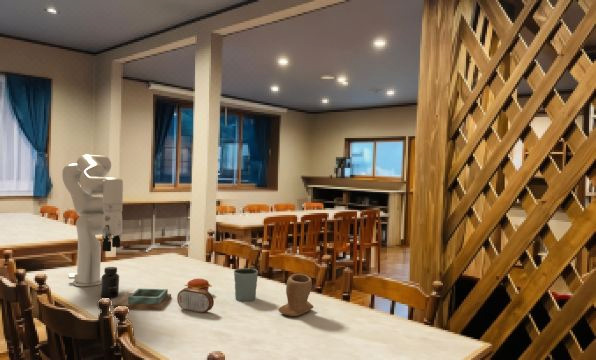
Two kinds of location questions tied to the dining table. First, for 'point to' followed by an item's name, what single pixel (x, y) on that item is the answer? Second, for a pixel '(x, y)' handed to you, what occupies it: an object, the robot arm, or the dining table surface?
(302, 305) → the stone cup
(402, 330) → the dining table surface
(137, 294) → the socket board
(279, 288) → the dining table surface
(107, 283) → the supplement bottle
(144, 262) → the dining table surface
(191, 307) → the tin
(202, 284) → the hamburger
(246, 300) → the grey cup
